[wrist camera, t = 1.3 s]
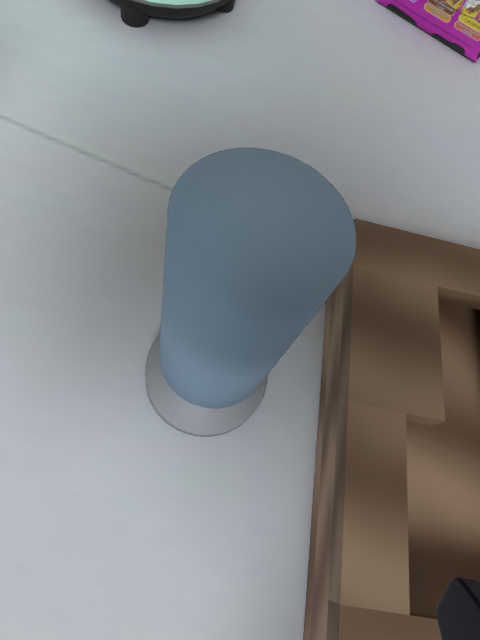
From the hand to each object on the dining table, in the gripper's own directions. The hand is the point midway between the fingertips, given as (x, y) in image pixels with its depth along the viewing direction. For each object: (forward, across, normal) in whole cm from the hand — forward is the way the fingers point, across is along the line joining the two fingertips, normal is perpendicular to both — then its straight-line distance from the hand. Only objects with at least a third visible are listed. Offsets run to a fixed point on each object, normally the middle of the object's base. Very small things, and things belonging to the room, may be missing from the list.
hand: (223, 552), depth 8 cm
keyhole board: (+14, -12, +4) cm, 19 cm away
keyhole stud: (+14, 0, +4) cm, 15 cm away
